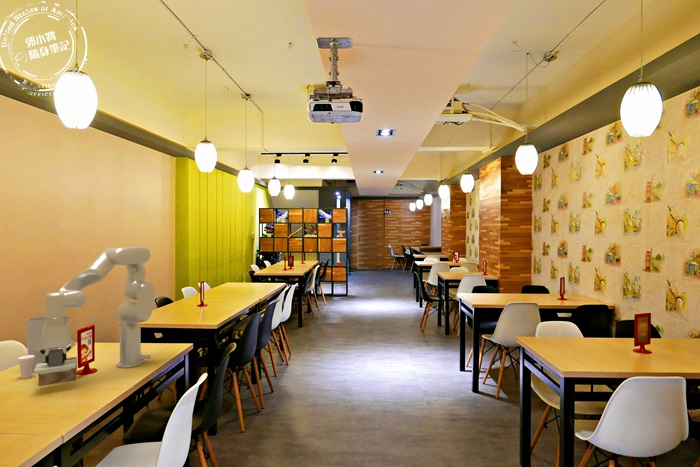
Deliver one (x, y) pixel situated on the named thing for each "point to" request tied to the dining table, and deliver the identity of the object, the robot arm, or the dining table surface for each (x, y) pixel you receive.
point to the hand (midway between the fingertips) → (56, 362)
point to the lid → (55, 363)
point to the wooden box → (58, 375)
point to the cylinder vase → (35, 338)
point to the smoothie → (26, 365)
